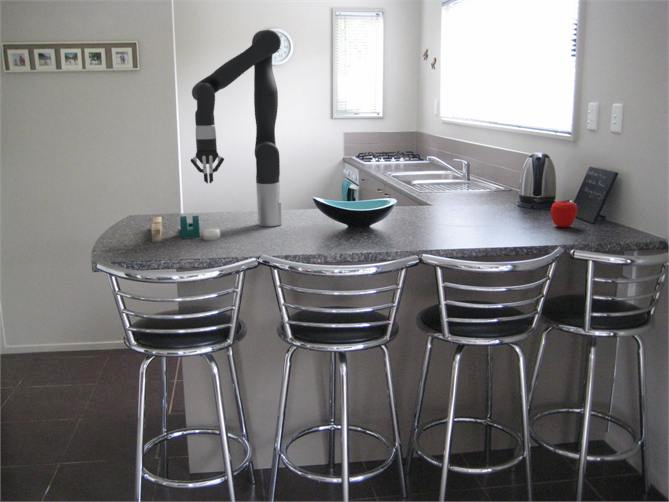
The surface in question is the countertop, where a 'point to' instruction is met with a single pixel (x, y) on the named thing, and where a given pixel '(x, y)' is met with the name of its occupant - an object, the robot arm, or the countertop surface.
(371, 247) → the countertop surface
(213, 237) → the rounded smooth part
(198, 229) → the bracket
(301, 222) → the countertop surface
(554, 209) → the apple
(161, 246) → the countertop surface
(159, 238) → the batten
